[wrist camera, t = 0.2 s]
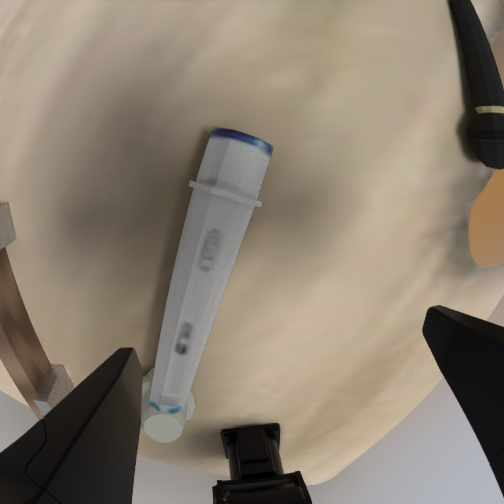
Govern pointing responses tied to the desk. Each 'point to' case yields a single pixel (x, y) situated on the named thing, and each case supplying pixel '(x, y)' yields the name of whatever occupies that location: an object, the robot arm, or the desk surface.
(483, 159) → the microphone
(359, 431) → the desk surface
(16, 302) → the rail
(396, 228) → the desk surface
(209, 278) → the grey elongated rounded piece
